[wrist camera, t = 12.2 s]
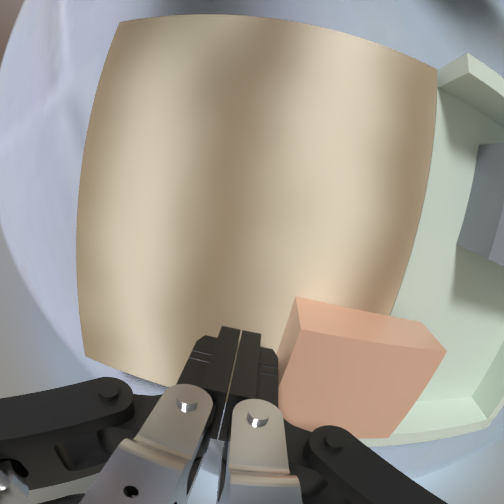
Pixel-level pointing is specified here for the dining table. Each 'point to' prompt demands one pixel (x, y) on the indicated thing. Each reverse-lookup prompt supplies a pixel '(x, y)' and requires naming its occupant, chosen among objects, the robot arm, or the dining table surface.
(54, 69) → the dining table surface
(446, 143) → the box
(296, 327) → the terracotta tile
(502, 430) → the dining table surface
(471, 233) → the slate tile
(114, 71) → the plate
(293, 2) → the dining table surface
